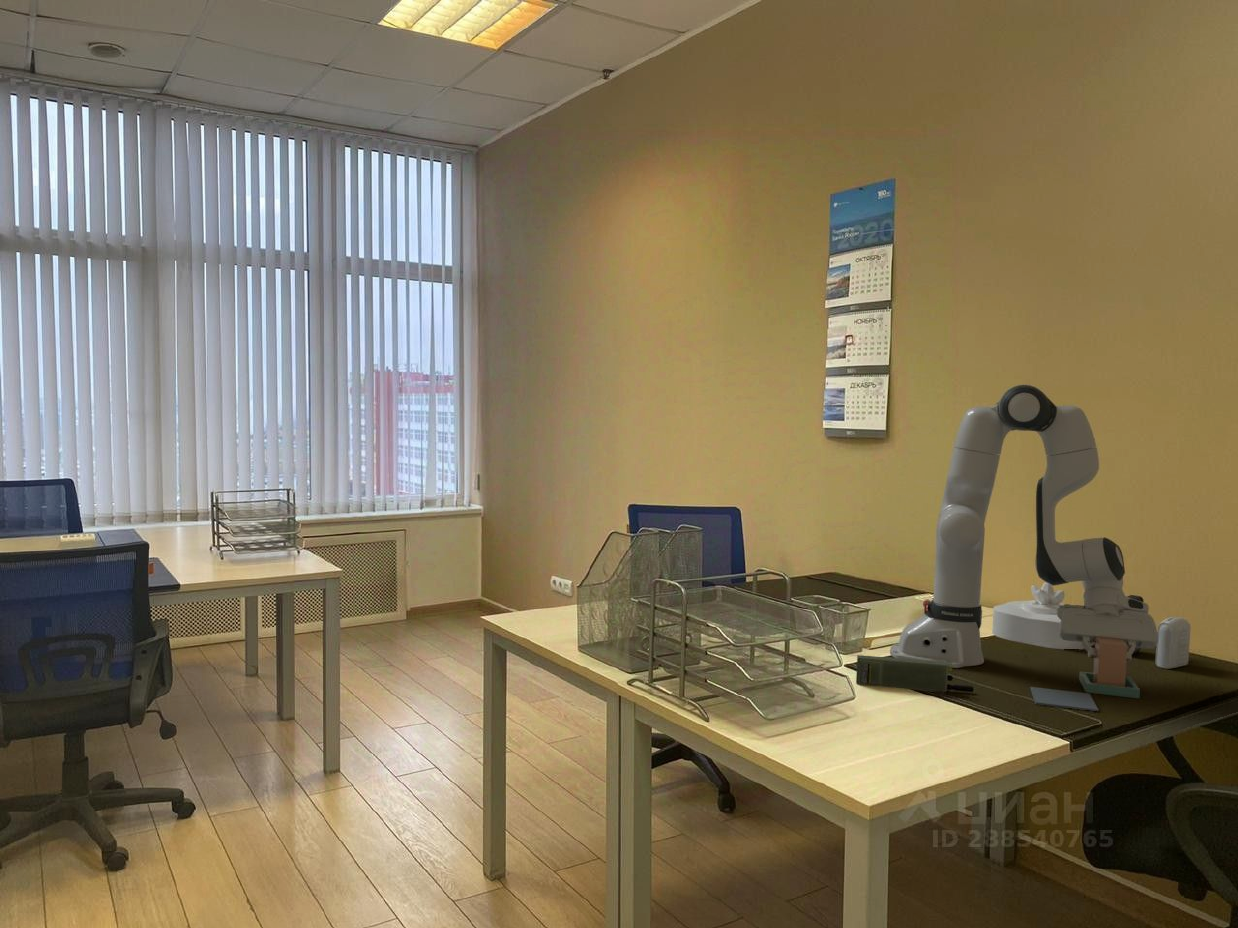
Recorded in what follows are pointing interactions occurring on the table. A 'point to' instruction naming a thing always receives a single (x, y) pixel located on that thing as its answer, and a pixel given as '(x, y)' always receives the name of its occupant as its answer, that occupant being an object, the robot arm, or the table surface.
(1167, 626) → the photo printer
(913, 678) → the handheld radio
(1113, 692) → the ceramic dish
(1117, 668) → the brown tall block
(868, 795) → the table surface
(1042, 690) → the rubber mat
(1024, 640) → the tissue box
